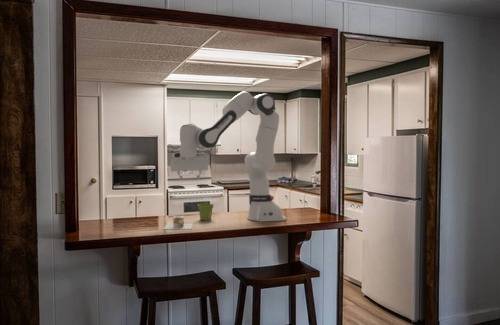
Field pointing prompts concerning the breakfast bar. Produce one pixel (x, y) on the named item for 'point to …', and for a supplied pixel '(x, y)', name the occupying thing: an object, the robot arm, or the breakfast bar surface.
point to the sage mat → (170, 226)
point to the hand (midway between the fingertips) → (189, 179)
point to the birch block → (178, 221)
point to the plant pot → (205, 211)
